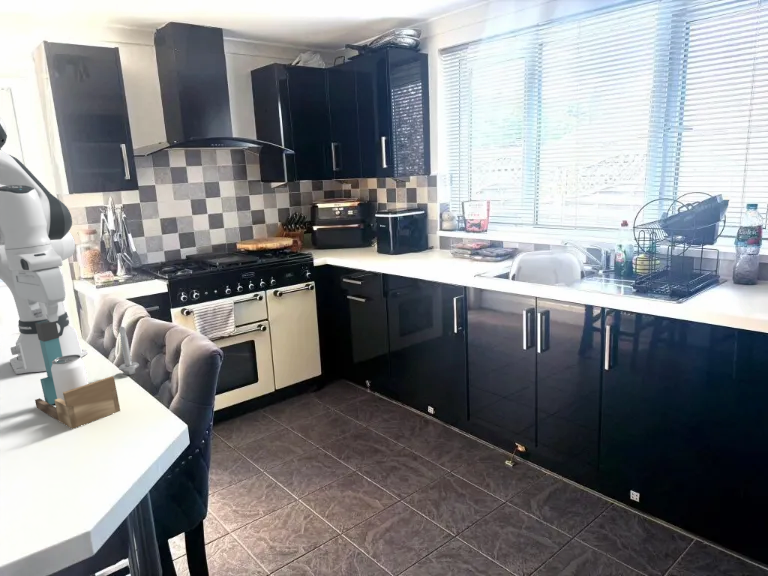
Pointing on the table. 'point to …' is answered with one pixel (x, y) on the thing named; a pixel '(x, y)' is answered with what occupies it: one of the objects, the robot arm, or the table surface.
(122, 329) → the screw
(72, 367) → the can
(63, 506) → the table surface
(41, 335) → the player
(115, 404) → the wooden box
